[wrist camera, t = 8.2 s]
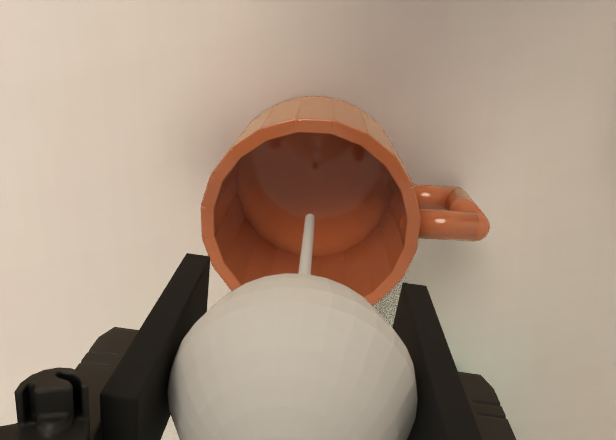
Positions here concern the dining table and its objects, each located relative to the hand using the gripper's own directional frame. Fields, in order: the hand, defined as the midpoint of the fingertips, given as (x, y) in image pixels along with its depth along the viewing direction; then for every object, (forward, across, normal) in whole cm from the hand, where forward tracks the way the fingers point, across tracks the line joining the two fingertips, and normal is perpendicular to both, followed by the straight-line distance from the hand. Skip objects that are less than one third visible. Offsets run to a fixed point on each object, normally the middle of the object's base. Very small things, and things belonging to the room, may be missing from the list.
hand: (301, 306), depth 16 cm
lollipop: (+8, 0, 0) cm, 8 cm away
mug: (+14, +2, 0) cm, 14 cm away
